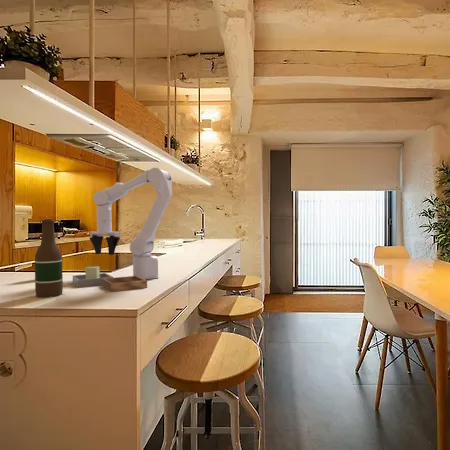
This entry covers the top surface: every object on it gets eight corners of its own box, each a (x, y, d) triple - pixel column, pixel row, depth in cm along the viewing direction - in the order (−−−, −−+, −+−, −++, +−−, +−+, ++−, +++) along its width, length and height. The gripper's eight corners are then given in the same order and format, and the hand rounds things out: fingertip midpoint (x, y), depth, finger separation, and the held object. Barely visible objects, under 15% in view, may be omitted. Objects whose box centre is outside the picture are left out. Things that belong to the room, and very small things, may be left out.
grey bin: (105, 279, 145) (105, 272, 145) (113, 283, 135) (113, 277, 135) (72, 282, 139) (72, 275, 139) (78, 287, 129) (77, 280, 129)
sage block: (96, 284, 135) (96, 267, 135) (85, 284, 135) (85, 267, 135) (99, 282, 139) (99, 266, 139) (88, 282, 139) (88, 266, 139)
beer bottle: (68, 293, 118) (66, 218, 118) (49, 298, 111) (48, 218, 111) (49, 292, 121) (47, 218, 120) (29, 296, 114) (28, 219, 113)
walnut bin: (136, 282, 137) (136, 275, 137) (147, 287, 127) (147, 280, 127) (102, 285, 131) (102, 278, 131) (111, 291, 121) (111, 283, 121)
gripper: (124, 220, 150) (125, 254, 150) (99, 220, 157) (99, 252, 157) (111, 220, 143) (112, 255, 144) (85, 220, 151) (86, 254, 151)
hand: (104, 254), depth 150 cm, fingers open, 7 cm apart
